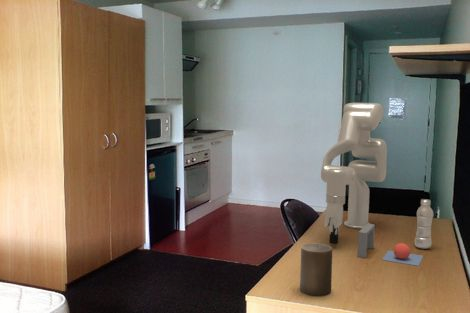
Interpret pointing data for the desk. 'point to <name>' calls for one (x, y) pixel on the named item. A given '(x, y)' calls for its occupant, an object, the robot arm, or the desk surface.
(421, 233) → the plastic bottle
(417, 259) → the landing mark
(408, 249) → the ball
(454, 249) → the desk surface
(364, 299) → the desk surface
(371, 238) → the bridge
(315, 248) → the pillar candle
